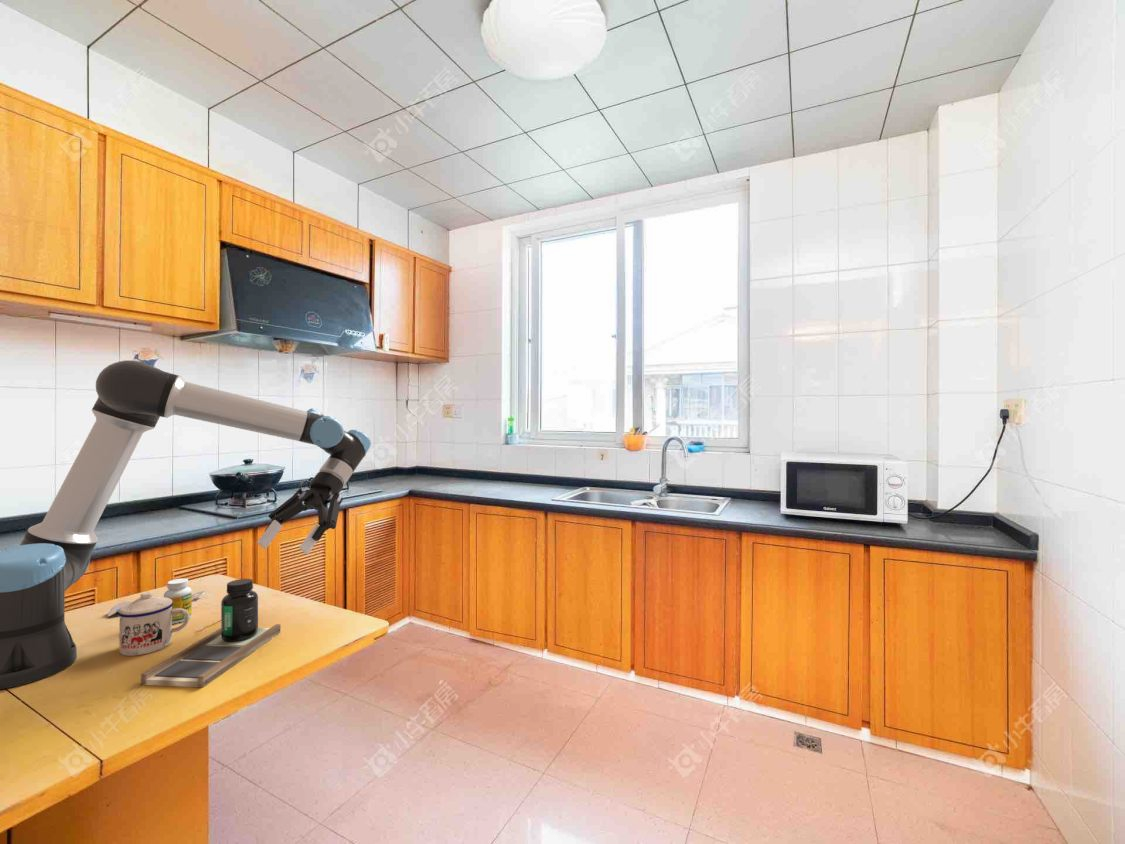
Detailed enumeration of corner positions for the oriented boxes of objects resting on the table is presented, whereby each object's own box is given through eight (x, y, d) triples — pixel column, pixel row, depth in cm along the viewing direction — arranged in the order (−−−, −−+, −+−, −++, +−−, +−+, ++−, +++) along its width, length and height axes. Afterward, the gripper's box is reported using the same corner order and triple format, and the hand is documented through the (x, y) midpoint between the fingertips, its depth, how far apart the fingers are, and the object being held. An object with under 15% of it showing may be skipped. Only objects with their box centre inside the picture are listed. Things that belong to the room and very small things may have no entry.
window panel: (141, 684, 92) (141, 674, 92) (230, 631, 115) (230, 622, 115) (203, 687, 91) (203, 676, 91) (280, 632, 114) (280, 624, 114)
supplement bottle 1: (171, 616, 123) (171, 577, 123) (195, 614, 124) (196, 576, 124) (158, 625, 118) (158, 585, 117) (184, 623, 119) (184, 583, 119)
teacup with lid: (111, 660, 101) (111, 603, 100) (125, 642, 109) (125, 589, 109) (184, 648, 106) (184, 594, 106) (193, 632, 114) (193, 581, 114)
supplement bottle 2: (227, 645, 105) (227, 589, 105) (216, 636, 109) (216, 582, 109) (262, 635, 110) (262, 581, 110) (251, 626, 115) (251, 575, 114)
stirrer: (203, 581, 138) (205, 586, 134) (204, 594, 138) (206, 598, 134) (105, 604, 124) (105, 609, 121) (106, 618, 124) (106, 623, 121)
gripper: (375, 490, 132) (331, 562, 118) (304, 484, 140) (254, 551, 126) (361, 472, 126) (312, 545, 113) (288, 467, 135) (234, 534, 121)
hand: (282, 548), depth 119 cm, fingers open, 13 cm apart
